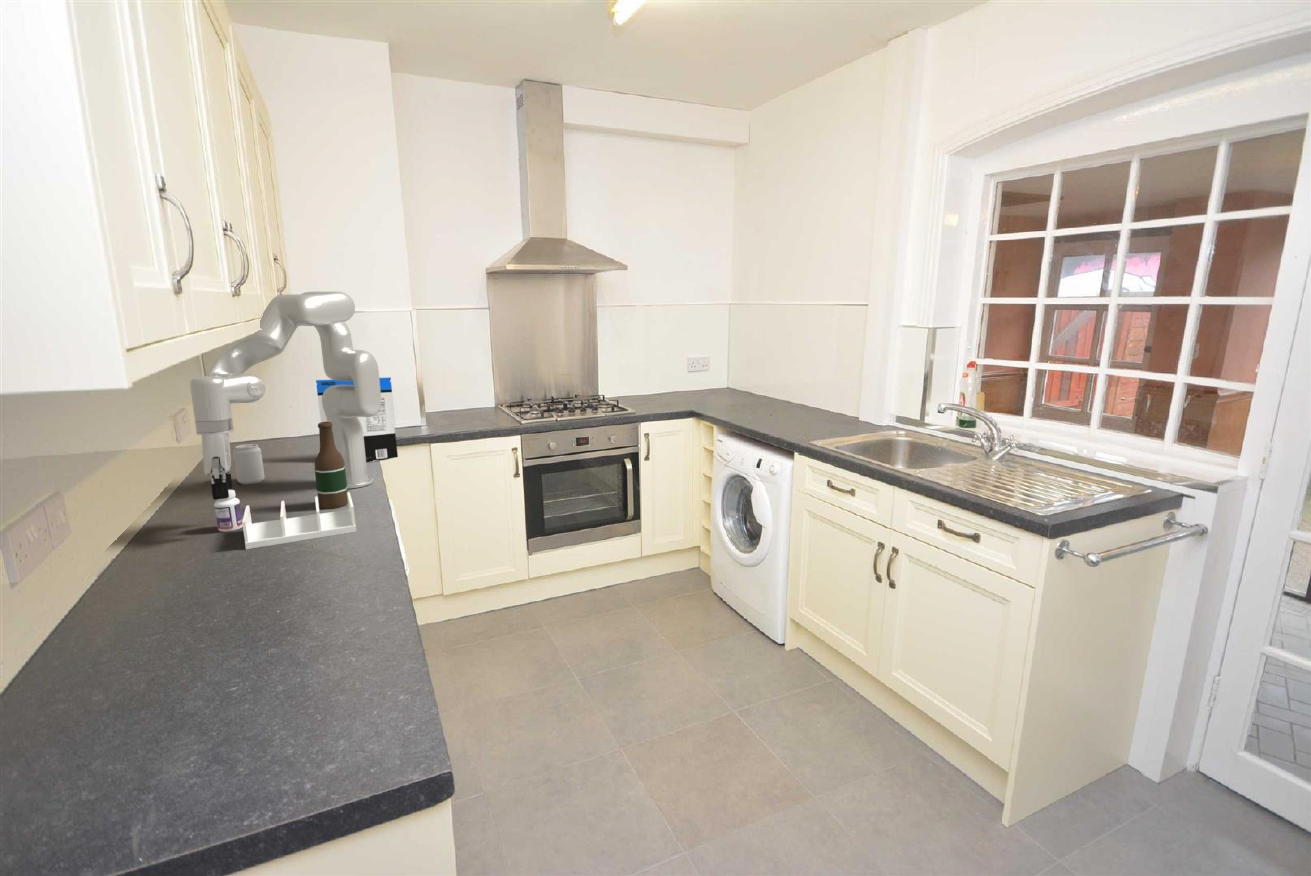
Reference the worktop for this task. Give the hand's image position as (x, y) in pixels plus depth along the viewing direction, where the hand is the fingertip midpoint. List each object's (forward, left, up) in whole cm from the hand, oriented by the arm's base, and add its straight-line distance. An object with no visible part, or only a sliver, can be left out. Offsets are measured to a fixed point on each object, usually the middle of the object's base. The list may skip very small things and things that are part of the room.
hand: (223, 493), depth 156 cm
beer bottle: (-8, +24, -10) cm, 28 cm away
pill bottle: (0, 0, -10) cm, 10 cm away
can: (-48, +2, -10) cm, 49 cm away
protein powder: (-62, +36, -10) cm, 73 cm away
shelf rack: (+11, +16, -9) cm, 22 cm away
